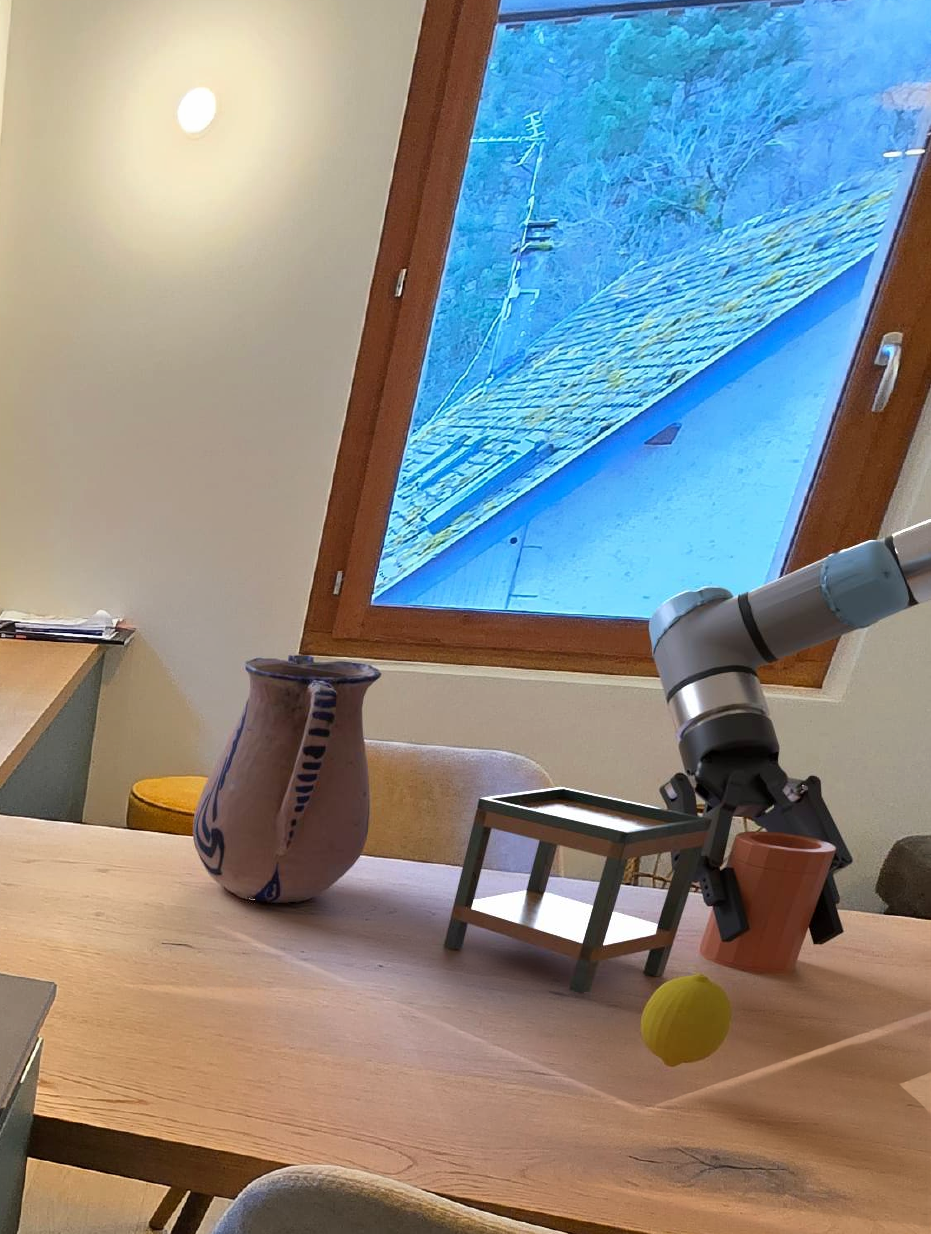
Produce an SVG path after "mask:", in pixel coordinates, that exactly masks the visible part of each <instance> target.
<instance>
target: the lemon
mask: <svg viewBox="0 0 931 1234" xmlns="http://www.w3.org/2000/svg"><path fill="white" fill-rule="evenodd" d="M731 1020H732V1005H731V1000H730V998H729V995H728V994H727V992H726V991H725V990H724V988H722V987H721V986H720V985H719V984H717V982H715V981H713V980H712V979H709V978H708V977H707V975H706V974H703V973H695V974H693V975H684V976H679V977H675V978H673V979H670V980H668V981H666V982H664V983H663V984H661V985H659V987H657V988H656V990H655V991H654V992H653V994H652V995H651V996H650V998H649V999H648V1001H647V1003H646V1004H645V1006H644V1008H643V1010H642V1014H641V1019H640V1036H641V1039H642V1042H643V1043H644V1045H645V1046H646V1048H647V1049H648V1050H649V1051H650V1052H651V1053H652V1054H653V1055H655V1056H656V1057H658V1058H659V1059H660V1060H661V1061H662V1062H663V1064H664V1065H665V1066H667V1067H670V1068H675V1067H678V1066H679V1065H682V1064H691V1063H692V1064H693V1063H696V1062H700V1061H702V1060H704V1059H707V1058H708V1057H710V1056H711V1055H713V1054H714V1053H715V1052H716V1051H717V1050H719V1049H720V1047H721V1046H722V1045H723V1043H724V1041H725V1040H726V1037H727V1035H728V1033H729V1031H730V1026H731Z"/></svg>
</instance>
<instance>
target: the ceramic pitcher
mask: <svg viewBox="0 0 931 1234" xmlns="http://www.w3.org/2000/svg"><path fill="white" fill-rule="evenodd" d="M287 658H288V659H287V660H285V659H278V658H264V657H263V658H262V657H256V658H253V659H250V660H247V661H245V671H246V672H247V674H248V677H249V694H248V697H247V699H246V702H245V705H244V707H243V710H242V712H241V715H240V716H239V719H238V720H237V722H236V724H235V725H234V728H233V729H232V731H231V733H230V735H229V737H228V739H227V742H226V744H225V746H224V747H223V749H222V751H221V753H220V755H219V756H218V758H217V760H216V762H215V765H214V766H213V768H212V770H211V772H210V774H209V776H208V778H207V780H206V782H205V784H204V786H203V789H202V791H201V793H200V796H199V799H198V801H197V803H196V807H195V810H194V811H195V812H194V816H193V821H192V839H193V843H194V847H195V850H196V852H197V855H198V856H199V859H200V861H201V863H202V865H203V867H204V868H205V870H206V871H207V874H208V875H209V876H210V877H211V879H212V880H214V881H215V882H216V883H218V884H219V885H220V886H222V888H224V887H225V888H226V890H228V892H231V893H233V894H234V895H236V896H237V897H239V898H241V899H244V898H247V899H249V898H250V899H255V900H260V901H259V902H264V901H266V903H272V902H273V903H272V904H290V903H289V902H296V903H301V902H303V900H304V901H307V900H309V899H312V898H314V897H316V896H318V895H320V894H321V893H323V892H325V891H326V890H328V889H330V887H331V886H333V885H334V884H336V883H337V882H338V881H339V879H341V878H342V877H344V876H345V874H346V873H348V872H349V870H351V868H352V867H353V866H354V865H355V864H356V862H357V861H358V860H359V859H360V858H361V856H362V854H363V851H364V848H365V845H366V842H367V838H368V834H369V826H370V816H371V815H370V814H371V813H370V812H371V794H370V774H369V765H368V759H367V752H366V742H365V737H364V727H363V726H364V724H363V723H364V722H363V705H364V699H365V696H366V693H367V691H368V689H369V688H370V687H371V686H372V685H373V684H374V683H375V682H376V681H377V680H378V679H380V678H381V677H382V672H381V671H380V670H379V669H378V668H376V667H373V666H372V665H371V664H366V663H361V662H352V661H345V660H336V661H326V662H324V661H314V660H315V659H314V656H312V655H309V654H295V655H291V654H289V655H288V657H287ZM225 888H224V889H225ZM300 901H301V902H300Z"/></svg>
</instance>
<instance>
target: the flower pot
mask: <svg viewBox="0 0 931 1234" xmlns="http://www.w3.org/2000/svg"><path fill="white" fill-rule="evenodd" d="M835 851H836V847H835V846H833V845H832V844H830V843H827V842H824V841H821V840H818V839H814V838H809V837H804V836H798V835H792V834H785V833H778V832H767V831H765V830H763V831H762V830H757V831H755V830H754V831H753V830H751V831H749V830H747V831H742V832H738V833H737V834H736V835H735V837H734V839H733V843H732V846H731V849H730V851H729V856H728V859H727V862H726V864H725V867H731V868H733V869H734V873H735V876H736V880H737V884H738V887H739V891H740V895H741V898H742V902H743V905H744V909H745V913H746V916H747V920H748V924H749V927H750V930H748V931H747V932H745V933H744V934H742V935H740V936H739V937H737V938H736V939H734V940H733V941H731V942H722V940H721V937H720V933H719V929H718V925H717V922H716V918H715V914H714V910H713V907H712V908H711V911H710V914H709V918H708V921H707V924H706V927H705V929H704V933H703V937H702V939H701V942H700V946H699V951H698V952H699V954H700V955H701V956H702V957H703V958H705V959H706V960H708V961H710V962H712V963H714V964H717V965H720V966H723V967H726V968H729V969H734V970H736V971H742V972H747V973H754V974H762V975H781V974H787V973H790V972H792V971H794V969H795V966H796V964H797V961H798V959H799V956H800V953H801V950H802V947H803V944H804V941H805V939H806V935H807V933H808V930H809V925H810V922H811V919H812V916H813V913H814V910H815V908H816V905H817V902H818V899H819V896H820V893H821V891H822V888H823V885H824V882H825V879H826V876H827V874H828V871H829V868H830V865H831V862H832V859H833V857H834V854H835Z"/></svg>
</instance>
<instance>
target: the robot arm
mask: <svg viewBox="0 0 931 1234" xmlns="http://www.w3.org/2000/svg"><path fill="white" fill-rule="evenodd" d="M928 601H931V519H928V520H926V521H922V522H921V523H918V524H916V525H913V526H911V527H908V528H905V529H902V530H901V531H898V532H895V533H893V534H891V535H889V536H886V537H884V538H881V539H878V540H877V539H870V540H867V541H864V542H861V543H859V544H856V545H854V546H851V547H848V548H844V549H841V550H839V551H836V552H834V553H831V554H829V555H828V556H827V557H823V558H822V559H820V560H817V561H815V562H813V563H810V564H808V565H806V566H803V567H801V568H799V569H797V570H795V571H792V572H790V573H788V574H786V575H784V576H781V577H779V578H776V579H775V580H772V581H770V582H768V583H765V584H764V585H761V586H758V587H757V588H754V589H752V590H750V591H746V592H744V593H742V594H737V595H734V594H733V593H732V592H731V591H730V590H728V589H726V588H724V587H721V586H715V585H714V586H702V587H700V588H699V589H697V590H691V589H689V590H685V591H683V592H680V593H678V594H676V595H673V596H672V597H670V598H669V599H666V600H665V601H664V602H663V603H661V604H660V605H659V606H658V607H657V608H656V609H655V610H654V612H653V613H652V615H651V617H650V619H649V623H648V631H649V637H650V643H651V657H652V659H653V660H654V664H655V667H656V669H657V672H658V676H659V680H660V682H661V686H662V689H663V692H664V696H665V699H666V703H667V707H668V708H667V709H668V712H669V713H668V714H669V716H670V721H671V724H672V728H673V731H674V735H675V738H676V740H677V741H678V742H679V743H678V750H679V755H680V758H681V762H682V765H683V769H684V772H676V773H675V774H674V775H673V776H672V777H670V778H669V779H668V780H666V782H665V783H663V784H662V785H661V786H660V787H659V789H658V791H659V794H660V795H661V798H662V799H663V802H664V803H665V805H666V809H667V810H671V811H676V812H681V813H686V814H690V815H695V816H699V813H698V804H697V796H698V797H699V798H700V799H701V800H702V801H703V802H704V806H703V811H702V816H701V817H704V818H709V819H712V821H711V824H710V827H709V830H708V833H707V837H706V840H705V843H704V846H703V849H702V853H701V856H700V859H699V862H698V865H697V868H696V872H695V875H694V878H693V881H692V884H693V883H694V884H698V883H699V884H698V885H699V888H700V892H701V895H702V899H703V902H704V903H705V905H706V906H707V907H712V908H713V910H714V914H715V918H716V922H717V925H718V929H719V933H720V937H721V940H722V942H731V941H733V940H734V939H736V938H737V937H739V936H740V935H742V934H744V933H745V932H747V931H748V930H750V927H749V924H748V920H747V916H746V913H745V909H744V905H743V902H742V898H741V895H740V891H739V887H738V884H737V880H736V876H735V873H734V869H733V868H731V867H726V866H725V867H723V868H722V869H721V867H722V866H723V864H724V859H725V855H726V851H727V845H728V841H729V836H730V831H731V827H732V822H733V818H734V816H741V817H748V818H749V817H750V819H751V820H752V821H753V822H754V824H755V825H756V826H758V827H762V828H764V830H766V831H765V832H778V833H785V834H792V835H798V836H804V837H809V838H814V839H818V840H821V841H824V842H827V843H830V844H832V845H833V846H835V847H836V851H835V854H834V857H833V859H832V862H831V865H830V868H829V871H828V874H827V876H826V879H825V882H824V885H823V888H822V891H821V893H820V896H819V899H818V902H817V905H816V908H815V910H814V913H813V916H812V919H811V922H810V925H809V927H808V930H809V934H810V937H811V940H812V943H813V945H819V946H820V945H824V944H826V943H828V942H829V941H831V940H833V939H834V938H836V937H838V936H840V935H841V934H843V933H844V932H845V931H844V927H843V924H842V921H841V918H840V915H839V910H838V907H837V905H839V904H840V901H841V896H840V893H839V890H838V887H837V884H836V880H835V877H834V875H836V874H837V873H839V872H840V871H842V870H844V869H845V868H847V867H849V866H850V865H852V863H853V861H854V860H853V859H854V858H853V856H852V855H851V852H850V850H849V848H848V847H847V845H846V843H845V840H844V838H843V837H842V834H841V832H840V830H839V829H838V826H837V824H836V822H835V819H834V818H833V816H832V814H831V812H830V810H829V808H828V806H827V805H826V802H825V800H824V797H823V796H822V793H823V792H822V781H821V779H820V778H819V777H818V776H817V775H809V776H807V777H806V778H805V779H799V778H793V777H789V776H788V774H787V772H785V770H784V769H783V768H782V767H781V766H780V763H779V757H780V748H781V747H780V743H779V740H778V738H777V734H776V730H775V727H774V723H773V721H772V719H771V718H770V714H771V713H770V709H769V706H768V703H767V701H766V696H765V694H764V690H763V688H762V687H763V686H762V685H761V682H760V678H759V675H758V671H757V669H758V668H760V667H763V666H766V665H768V664H773V663H775V662H777V661H779V660H781V659H784V658H786V657H789V656H791V655H794V654H796V653H799V652H802V651H804V650H807V649H810V648H813V647H816V646H819V645H820V644H823V643H827V642H829V641H831V640H834V639H837V638H840V637H842V636H844V635H847V634H850V633H852V632H855V631H857V630H859V629H866V628H869V627H870V626H872V625H874V624H876V623H877V624H878V622H880V621H881V620H884V619H886V618H889V617H891V616H893V615H895V614H898V613H900V612H902V611H905V610H907V609H910V608H912V607H914V606H917V605H920V604H922V603H926V602H928ZM769 809H770V810H769ZM679 854H680V850H677V851H671V852H670V862H671V869H672V870H673V871H674V870H675V867H676V863H677V860H678V857H679Z"/></svg>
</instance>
